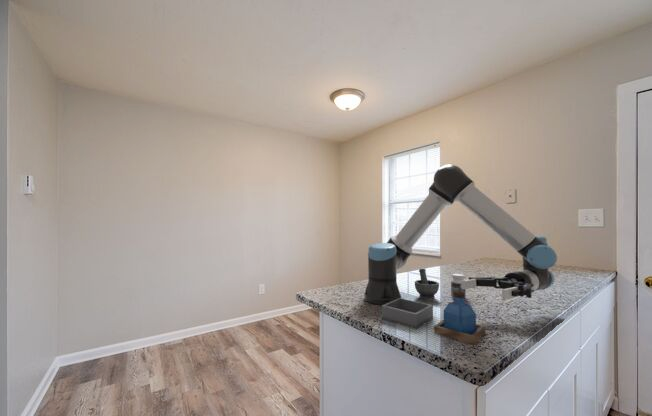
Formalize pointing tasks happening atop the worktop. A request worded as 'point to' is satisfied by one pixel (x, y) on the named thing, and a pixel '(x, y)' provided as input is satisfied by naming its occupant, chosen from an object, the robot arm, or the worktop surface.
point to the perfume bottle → (460, 315)
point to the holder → (460, 333)
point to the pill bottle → (457, 284)
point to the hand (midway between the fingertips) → (481, 289)
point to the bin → (407, 312)
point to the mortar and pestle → (426, 287)
